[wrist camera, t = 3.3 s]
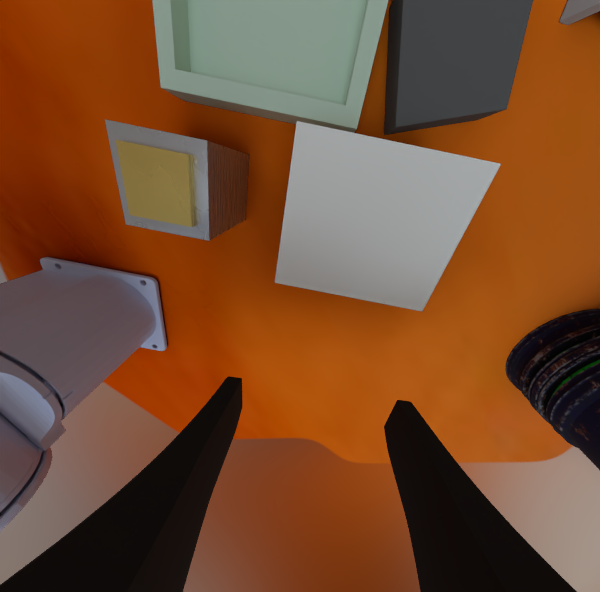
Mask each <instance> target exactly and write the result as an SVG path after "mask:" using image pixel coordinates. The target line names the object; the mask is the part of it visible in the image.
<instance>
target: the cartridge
mask: <svg viewBox="0 0 600 592" xmlns="http://www.w3.org/2000/svg"><path fill="white" fill-rule="evenodd" d="M105 123H106V128H107V133H108V138H109V143H110V148H111V153H112V158H113V163H114V168H115V173H116V178H117V183H118V188H119V193H120V198H121V203H122V208H123V213H124V218H125V223H126V225H132V226H137V227H142V228H147V229H152V230H157V231H162V232H167V233H172V234H177V235H182V236H187V237H192V238H198V239H203V240H208V241H210V240H211V239H213V238H215V237H217V236H218V235H220V234H222V233H224V232H225V231H227V230H229V229H231V228H232V227H234V226H236V225H238V224H239V223H241V222H243V221H245V220H246V204H247V186H248V169H249V155H248V154H245V153H242V152H239V151H237V150H234V149H231V148H228V147H225V146H222V145H219V144H216V143H213V142H210V141H207V140H202V139H197V138H192V137H188V136H183V135H178V134H173V133H168V132H163V131H159V130H154V129H149V128H144V127H139V126H134V125H129V124H125V123H120V122H115V121H110V120H105Z"/></svg>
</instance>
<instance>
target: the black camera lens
mask: <svg viewBox="0 0 600 592" xmlns="http://www.w3.org/2000/svg"><path fill="white" fill-rule="evenodd" d="M506 374H507V377H508V378H509V380H510V381H511V382H512V383H513V384H514V385H515V386H516V387H517V389H519V390H520V391H522V393H523V395H524V396H525V397H526V398H527V399H528V400H529V402H530V404H531V405H532V407H533V408H534V409H535V410H536V411H537V412H538V413H539V414H540V415H541V416H542V417H543V418H544V419H545V420H546V421H547V422H548V423H550V424H551V425H552V427H553V428H554V430H555V431H556V432H557V433H558V434H560V435H561V436H562V437H563V438H564V439H565V440H566V441H567V442H568V443H570V444H571V445H573V446H575V447H577V448H579V449H580V450H581V451H582V452H583V453H584V454H585V455H586V456H587V457H588V458H589V459H590V460H591V461H592V462H593V463H594V464H595V465H596V467H597V468H599V470H600V309H592V310H583V311H579V312H574V313H571V314H567V315H564V316H561V317H559V318H556V319H554V320H551V321H549V322H547V323H545V324H543V325H542V326H540V327H538V328H536V329H535V330H533V331H532V332H530V333H529V334H528V335H527V336H525V337H524V338H523V339H522V340H521V341H520V342H519V343H518V344H517V345H516V346H515V347H514V349H513V350H512V351H511V353H510V355H509V357H508V359H507V363H506Z"/></svg>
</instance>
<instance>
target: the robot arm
mask: <svg viewBox="0 0 600 592" xmlns="http://www.w3.org/2000/svg"><path fill="white" fill-rule="evenodd" d="M40 264H41V266H42V268H43V270H40V271H37V272H34V273H31V274H28V275H25V276H22V277H19V278H16V279H13V280H10V281H7V282H4V283H1V284H0V531H1V530H2V529H3V528H4V527H5V526H6V525H7V524H8V523H9V522H10V521H11V520H12V519H13V518H14V517H15V516H16V515H17V514H18V513H19V512H20V511H21V510H22V509H23V507H24V506H25V505H26V504H27V503H28V501H29V500H30V499H31V497H32V496H33V495H34V494H35V492H36V491H37V489H38V488H39V486H40V485H41V484H42V482H43V480H44V478H45V477H46V475H47V473H48V470H49V468H50V465H51V461H52V451H51V448H50V446H51V445H52V444H53V443H54V442H55V441H56V440H57V439H58V438H59V437H60V436H61V435H62V434H63V433H64V432H65V431H66V429H65V428H64V427H63V425H62V423H61V420H63V419H64V418H65V417H66V416H67V415H68V414H69V413H70V412H71V411H72V410H73V409H74V408H75V407H76V406H77V405H79V404H80V403H81V402H82V401H83V400H84V399H85V398H86V397H87V396H88V395H89V394H90V393H91V392H92V391H93V390H94V389H95V388H97V387H98V386H99V385H100V384H101V383H102V382H103V381H104V380H105V379H106V378H107V377H108V376H109V375H110V374H111V373H112V372H114V371H115V370H116V369H117V368H118V367H119V366H120V365H121V364H122V363H123V362H124V361H125V360H126V359H127V358H128V357H129V356H130V355H132V354H133V353H134V352H135V351H136V350H137V349H138V348H139V347H142V348H148V349H153V350H158V351H164V350H165V349H166V348H167V341H166V335H165V328H164V321H163V314H162V308H161V301H160V294H159V287H158V282H157V280H156V279H154V278H153V277H149V276H144V275H139V274H133V273H128V272H123V271H118V270H113V269H108V268H102V267H97V266H92V265H87V264H82V263H77V262H71V261H66V260H61V259H56V258H51V257H44V258H41V259H40ZM143 280H144V281H145V282H146V283H145V282H144V281H143ZM241 409H242V378H236V377H227V378H226V379H225V381H224V382H223V383H222V385H221V386H220V387H219V389H218V390H217V391H216V392H215V394H214V395H213V396H212V397H211V399H210V400H209V401H208V402H207V403H206V405H205V406H204V407H203V408H202V409H201V410H200V412H199V413H198V414H197V415H196V416H195V417H194V418H193V420H192V421H191V422H190V423H189V424H188V425H187V426H186V427H185V428H184V429H183V430H182V431H181V433H180V434H179V435H178V436H177V437H176V438H175V439H174V440H173V441H172V442H171V443H170V444H169V445H168V446H167V447H166V448H165V449H164V450H163V451H162V452H161V453H160V454H159V455H158V456H157V457H156V458H155V459H154V460H153V461H152V462H151V463H150V464H149V465H147V466H146V467H145V468H144V469H143V470H142V471H141V472H140V473H139V474H138V475H137V476H136V477H135V478H133V479H132V480H131V481H130V482H129V483H128V484H127V485H125V486H124V487H123V488H122V489H121V490H120V491H119V492H117V493H116V494H115V495H114V496H113V497H112V498H110V499H109V500H108V501H107V502H106V503H105V504H103V505H102V506H101V507H100V508H99V509H97V510H96V511H95V512H94V513H92V514H91V515H90V516H89V517H87V518H86V519H85V520H84V521H83V522H82V523H80V524H79V525H78V526H76V527H75V528H74V529H73V530H71V531H70V532H69V533H68V534H67V535H65V536H64V537H63V538H61V539H60V540H59V541H58V542H56V543H55V544H54V545H53V546H51V547H50V548H49V549H47V550H46V551H45V552H43V553H42V554H41V555H40V556H38V557H37V558H35V559H34V560H33V561H31V562H30V563H29V564H27V565H26V566H25V567H23V568H22V569H21V570H19V571H18V572H17V573H15V574H14V575H13V576H12V577H10V578H9V579H8V580H6V581H5V582H4V583H2V584H1V585H0V592H183V589H184V585H185V582H186V578H187V575H188V571H189V568H190V564H191V561H192V557H193V554H194V551H195V547H196V544H197V540H198V537H199V533H200V530H201V527H202V523H203V520H204V517H205V513H206V510H207V507H208V504H209V501H210V498H211V495H212V492H213V489H214V486H215V484H216V481H217V478H218V476H219V473H220V470H221V468H222V465H223V463H224V460H225V457H226V455H227V452H228V450H229V447H230V444H231V442H232V439H233V436H234V434H235V431H236V428H237V424H238V421H239V417H240V413H241ZM384 429H385V436H386V442H387V448H388V453H389V457H390V461H391V464H392V468H393V472H394V475H395V479H396V483H397V486H398V490H399V493H400V497H401V501H402V504H403V508H404V511H405V515H406V519H407V524H408V528H409V532H410V537H411V542H412V547H413V552H414V557H415V562H416V568H417V573H418V579H419V585H420V590H421V592H576V591H575V590H574V589H573V588H572V587H571V586H570V585H569V584H568V583H567V582H566V581H565V580H564V579H563V578H562V577H561V576H560V575H559V574H558V573H557V572H556V571H555V570H554V569H553V568H552V567H551V566H550V565H549V564H548V563H547V562H546V561H545V560H544V559H543V558H542V557H541V556H540V555H539V554H538V553H537V552H536V551H535V550H534V549H533V548H532V547H531V546H530V545H529V544H528V543H527V541H526V540H525V539H524V538H523V537H522V536H521V535H520V534H519V533H518V532H517V531H516V530H515V529H514V528H513V527H512V526H511V525H510V523H509V522H508V521H507V520H506V519H505V518H504V517H503V516H502V515H501V514H500V512H499V511H498V510H497V509H496V508H495V507H494V506H493V505H492V504H491V503H490V501H489V500H488V499H487V498H486V497H485V496H484V495H483V494H482V492H481V491H480V490H479V489H478V488H477V487H476V485H475V484H474V483H473V482H472V480H471V479H470V478H469V477H468V476H467V475H466V473H465V472H464V471H463V470H462V468H461V467H460V466H459V465H458V463H457V462H456V461H455V460H454V458H453V457H452V456H451V454H450V453H449V452H448V451H447V449H446V448H445V447H444V445H443V444H442V443H441V442H440V440H439V439H438V438H437V436H436V435H435V434H434V432H433V431H432V430H431V428H430V427H429V426H428V424H427V423H426V422H425V420H424V419H423V418H422V416H421V415H420V413H419V412H418V411H417V409H416V408H415V407H414V405H413V404H412V403H411V402H409V401H402V400H397V402H396V404H395V406H394V408H393V410H392V412H391V414H390V416H389V418H388V420H387V422H386V424H385V426H384Z"/></svg>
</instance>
